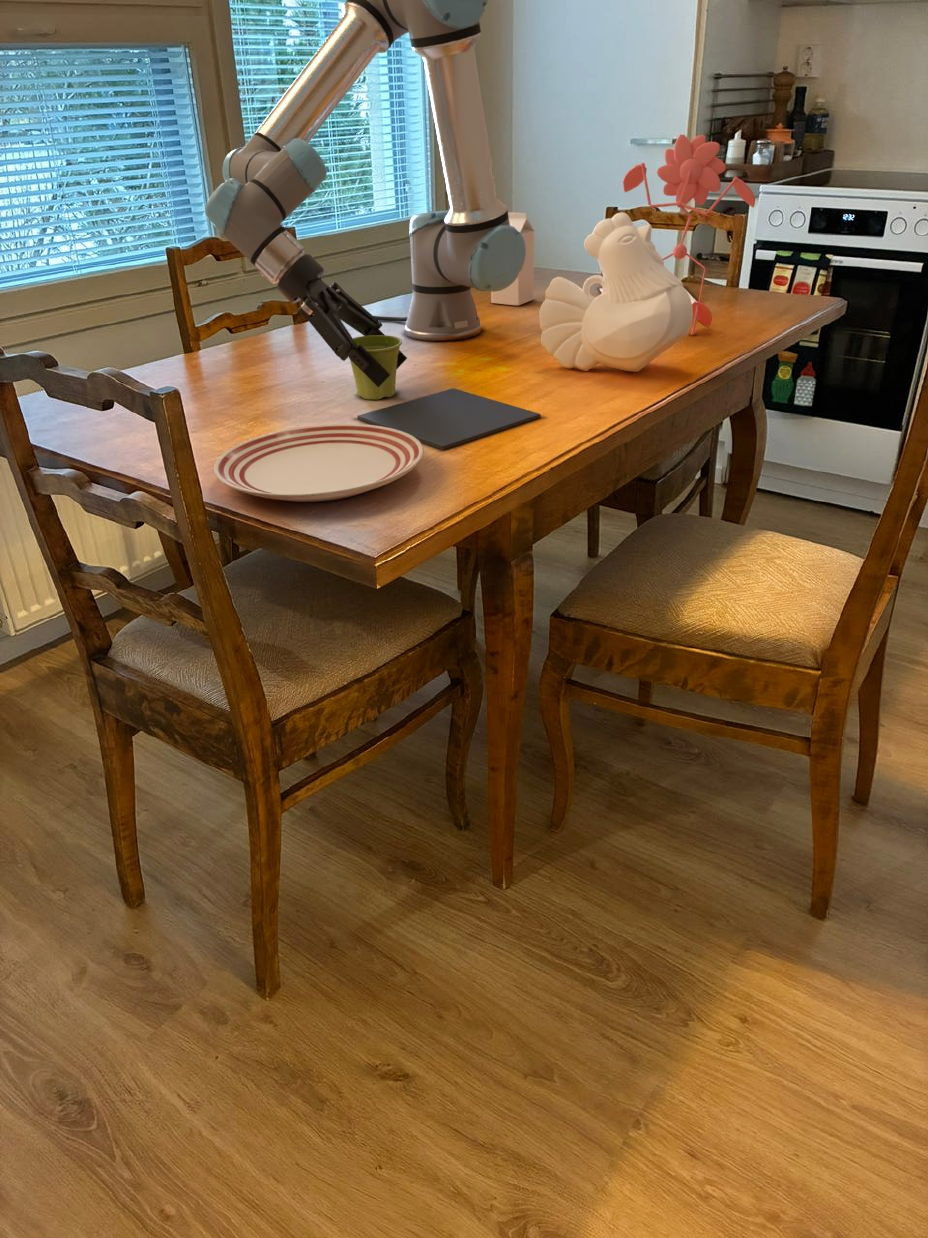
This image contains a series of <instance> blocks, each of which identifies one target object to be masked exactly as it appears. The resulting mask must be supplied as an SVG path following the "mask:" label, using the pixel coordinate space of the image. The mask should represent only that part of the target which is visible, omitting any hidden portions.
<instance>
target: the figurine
mask: <svg viewBox="0 0 928 1238" xmlns="http://www.w3.org/2000/svg"><path fill="white" fill-rule="evenodd" d="M720 149H721V146H720V143H719V142H717V141H708V142H707V137H706V135H704V134H698V135H697V136H695V137H694V138H693V139H692V140H691V141H689V139H688V137H687V136H686V135H685V134H680V135H679V136H678V137H677V138H676V140H675V142H674V147H673V148H666V150H665V152H664V161H665V163H666V164H665V165H662V166H660V167H658V168H657V171H656V174H657V176H658V177H659V178H660V180H661V181H663V182H664V183H665V184H664V186H663V190H662V192H663V194H664V195H665V196H668V197H669V196H670V197H675V202H670V203H669V202H668V203H657V204H656V203H655V204H652V200H651V196H650V190H649V185H648V179H647V167H646V164H645V162H641V163H640V164H636V165H634V166H633V167H632V168H631V169H629V170H628V171H627V172H626V174H625V175H624V178H623V180H622V184H623V191H624V193H627V192H630V191H632V190H634V189H636V188H637V187H639V186H640V185H641V184H642V183H643V184H644V189H645V195H646V200H647V205H648V206H649V207H648V208H649V209H654V208H663V207H665V208H666V207H674V206H675V207H677V208H680V209H681V210H682V212H684V213H685V215H686V216H687V217H688V218H687V221H686V224H685V228H684V232H683V234H682V237H681V240H680V243H679V244H677V245H675V246H674V247H673V250H672V253H670V254H669V255H667V256H665V257H663V258H662V260H663V261H666V260H667V259H669V258H671V257H674V258H675V259H677V260H682V259H684V258H685V257H686V256H687V258H690V259H691V260H692V261H693V262H695V263H696V265H698V266H700V267H701V268H703V275H702V278H701V283H700V284H701V285H700V291H699V296H698V300H696V301H697V302H696V301H695V302H694V303H693V304H692V308H693V318H692V319H693V321H692V326H691V327H692V328H691V333H690V336H694V335H695V332H696V325H697V322H698V323H699V324H701V325H703V326H704V327H706V328H708V329H710V327H711V325H712V321H713V315H712V311H711V310H710V309H709V307H708V306H707V305H706V304H705V303H704V302H701V300H702V295H703V289H704V283H705V278H706V272H707V269H706V266H705V265H703V264H702V263H700V261H698V260H697V259H695V258H694V257H693V256H692V255H690V254H689V253H688V249H687V246H685V245H684V244H683V243H684V240H685V237H686V235H687V233H688V230H689V227H690V224H691V222H692V219H693V218H692V214H691V213H690V212H689V211H688V210H690V211H693V212H695V213H697V214H700V215H702V216H704V217H708V215H709V214H710V213H711V212H712V211H713V210H714V208H715V207H716V206H717V205H718V204H719V202H720V201H721V200H722V199H723V198H724V196H725V195H726V194H727V193H728V192H729V191H730V189H731V188H732V187H733V189H734V190H735V192H736V194H737V195H738V196H739V198H740V199H741V200H742V201H744V202H745V203H746V204H747V205H748V206H750V207H751V208H754V207H755V205H756V197H755V195H754V192H753V190H752V189H751V187H749V186H748V185H747V184H746V183H745V181H744V180H742V179H740V178H739V177H738V176H734V177H733V178H732V181H731V182H730V183H729V184H728V186H727V187H726V188H725V189H724V190H723V191H722V193H721V194H720V195H719V197H718V198H716V200H715V201H714V202H713V204H712V205H711V206H710V208H708V210H707V211H704V210H701V209H698V208H696V207H694V206H691V205H688V204H689V203H690V202H691V201H692V199H693V201H694V203H695V204H696V205H698V206H704V205H705V203H706V201H707V199H708V198H709V197H708V196H709V192H712V193H717V192H719V191H720V190H721V187H722V183H721V179H720V176H719V175H720V174H723V173H724V172H725V171H726V168H727V166H726V164H725V162H724V161H722V159H721V158H718V157H717V155H718V154H719V152H720ZM725 336H726V334H724V335H721V336H720V338H723V337H725Z"/></svg>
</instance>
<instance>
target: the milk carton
mask: <svg viewBox="0 0 928 1238" xmlns="http://www.w3.org/2000/svg"><path fill="white" fill-rule="evenodd" d="M508 216H509V223H510V226H512V227H514V228H515V229H517V231H518V232H520V233H521V235H522V236H523V239H524V241H525V247H526V256H525V262H524V265H523V268H522V270H521V271H520V272H519V274H518V277H517V279H516V280H515V281H514V282H513V283H512V284H511V285H510V286H509V287H507V288H505V289H503V290H501V291H496V292H491V291H490V295H491V296H490V297H491V301H490V303H493V304H497V305H507V306H516V307H517V306H521V305H524V304H525V303H529V302H531V301H533V300H534V284H535V283H534V281H535V280H534V278H535V275H534V273H535V271H534V270H535V230H534V228H533V226H532V225H531V223H530V221H529V220H528V213H527V212H513V211H512V212H511V211H508Z"/></svg>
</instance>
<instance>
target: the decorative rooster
mask: <svg viewBox="0 0 928 1238" xmlns="http://www.w3.org/2000/svg"><path fill="white" fill-rule="evenodd" d="M652 229H653V227H652V225H651V224H645V225H642V226H639V227H638V226H635V225H634V223H633V221H632V219H631V217H630V216H629V214H627V213H626V212H623V211H620V212H617V213H615V214H613V216H612V217H611V218H604V219H602V220H600V221H598V223H597V224H596V225H594V228H593V230H592V233H590V234H588V235H587V236H586V237H585V239H584V243H583V247H584V251H586V253H587V254H588V255H590V256H591V257H592V258H594V259H596V260H597V263H598V265H599V268H600V272H601V274H602V275H601V274H594V275H591V276H589V277H587V279H585V280H584V283H583V284H582V288H581V287H580V286H579V285H577V284H576V283H575V282H573V281H571V280H569V279H567V278H565V277H562V276H556V277H554V278H553V279H551V281H550V283H549V286H548V287H547V288H546V289H545V291H544V298H545V300H544V301H543V302H542V303H541V305H540V308H539V311H538V318H539V329H540V330H541V334H540V345H541V346H542V348H544V349H545V350H546V352H547V354H548V355H549V356H551V357H553V358H554V360H555V361H557V362H558V363H559V364H560V366H562V367H563V368H565V369H574V368H577V369H578V370H580V371H583V372H588V371H590V369H594V368H595V367H597V366H599V365H603V366H606V367H608V368H609V367H610V368H612V369H616V370H620V371H625V372H634V373H636V372H637V373H638V372H639V371H641V370H642V369H644V368H645V367H646V366H648V365H649V364H650V363H651V362H653V361H654V360H655V359H657V358H658V357H660V355H662V354H663V353H664V352H666V351H667V350H669V349H670V348H671V347H673V346H675V345H676V344H677V343H679V342H680V341H682V340H683V339H685V338H686V337H687V336H688V334H689V332H690V329H691V327H692V324H693V319H694V318H693V317H694V316H693V308H692V303H691V300H690V297H689V295H688V293H689V292H688V290H687V289H686V288H685V287H684V284H683V282H682V281H681V280H680V279H679V278H678V276H676V275H675V274H674V273H673V272H671V271H670V270H669V269H668V268H667V267H666V266H665V261H664V260H662V259H663V258H662V257H661V255H660V254H659V252H658V251H657V249H656V246H655V244H654V242H653V241H652V239H651V238H652ZM594 284H599V285H600V286H601V288H603V292H602V293H600V294H599V295H597V296H594V295H592V293H591V287H592V286H593V285H594ZM685 289H686V290H685ZM687 292H688V293H687Z"/></svg>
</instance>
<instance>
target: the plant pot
mask: <svg viewBox="0 0 928 1238" xmlns="http://www.w3.org/2000/svg"><path fill="white" fill-rule="evenodd" d="M352 338H353V340H354V341H355V343H356V344H357V348H358V347H359V345H362V347H363V348H364V349H365V350H366V351H367V352H368V353H369V354H370V355H371V356H372V357H373V358H374V359H375V360H376V361H377V362H378V363H379V364H380V365H381V366H382V367H383V368H384V369H385V370H386V371H387V372H388V373H389V374H390V376H389V377H388V378H387V379H386V380H385V381H384V382H383V383H382V384H381V385H380V386H379V387H377V386H376V385H375V384H374V383H373V382H372V381H371V380H370V379H369V378H368V377H367V376H366V375H365V374H364V373H363V372H362V371H361V370H360V369H359V368H358V367H357V366H356V365H355V364H354V363H353V362H352V361H351V360H350V359H349V360H350V366H351V369H352V374H353V378H354V382H355V388H356V391H357V395H358V396H359V397H361V398H362V399H365V400H373V401H374V400H375V401H377V400H381V399H383V398H385V397H386V398H391V397H393V396H394V395H395V393H396V383H397V382H396V381H397V370H398V369H397V358H398V354H399V350H400V347H401V346H402V345H403V341H402V339H401V338H400V337H397V336H393V335H386V334H384V335H370V336H364V335H361V336H356V337H352Z"/></svg>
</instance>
